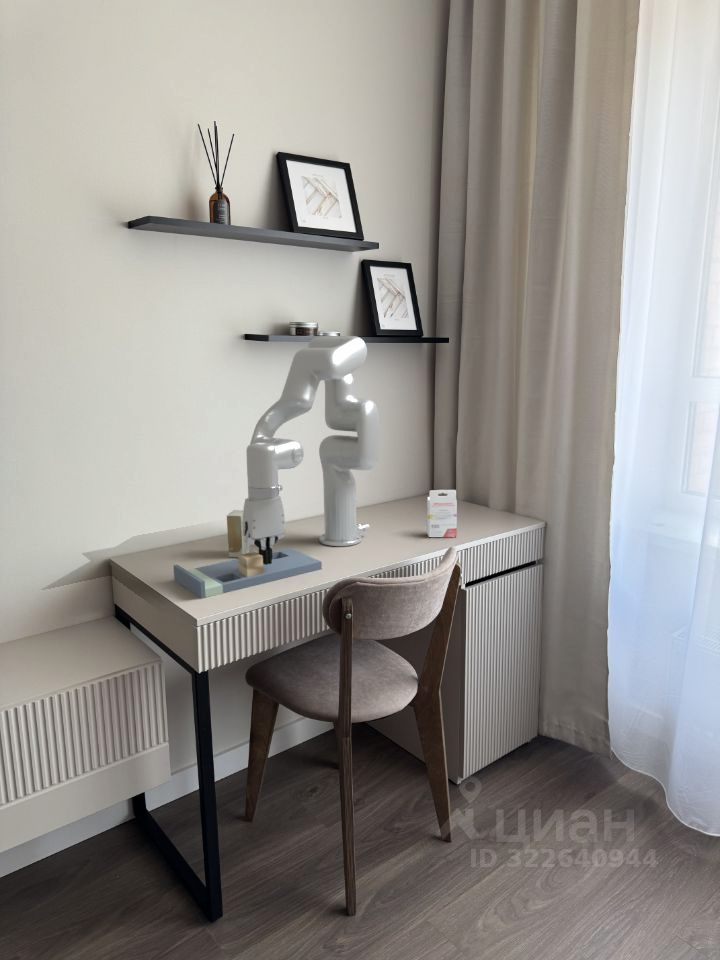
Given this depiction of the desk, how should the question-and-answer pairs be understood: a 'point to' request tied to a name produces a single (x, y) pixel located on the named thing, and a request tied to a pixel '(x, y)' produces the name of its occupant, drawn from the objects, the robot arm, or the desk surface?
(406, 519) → the desk surface
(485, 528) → the desk surface
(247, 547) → the skincare box
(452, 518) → the ink cartridge box
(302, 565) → the board
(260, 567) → the block
